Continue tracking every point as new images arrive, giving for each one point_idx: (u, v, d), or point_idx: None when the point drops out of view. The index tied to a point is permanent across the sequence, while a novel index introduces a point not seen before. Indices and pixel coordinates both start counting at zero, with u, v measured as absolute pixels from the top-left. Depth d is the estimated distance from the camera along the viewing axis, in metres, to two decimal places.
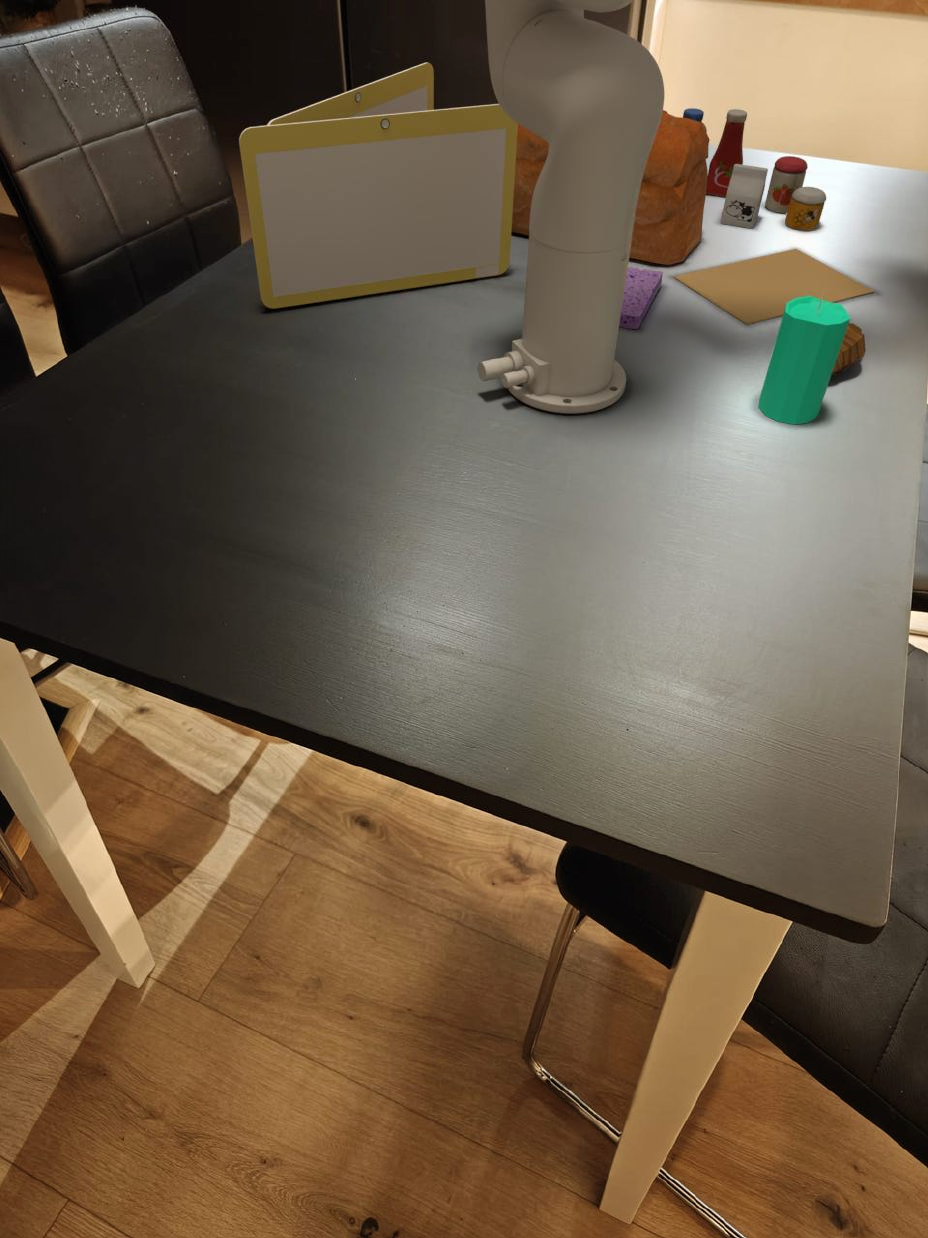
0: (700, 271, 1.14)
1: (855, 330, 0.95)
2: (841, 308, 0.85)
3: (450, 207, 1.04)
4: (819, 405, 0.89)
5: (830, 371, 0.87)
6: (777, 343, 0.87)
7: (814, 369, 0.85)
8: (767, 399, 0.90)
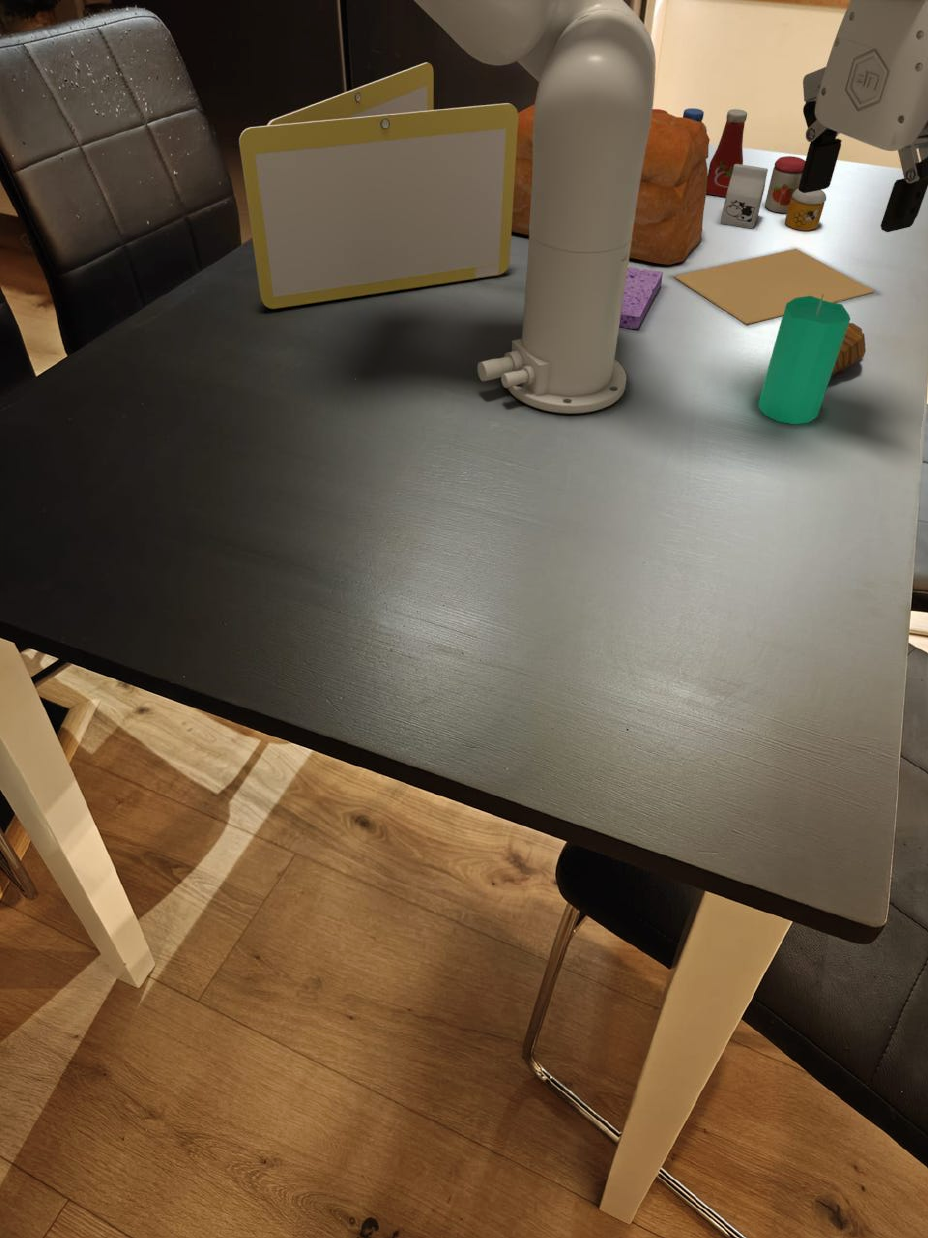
0: (700, 271, 1.14)
1: (855, 330, 0.95)
2: (841, 308, 0.85)
3: (450, 207, 1.04)
4: (819, 405, 0.89)
5: (830, 371, 0.87)
6: (777, 343, 0.87)
7: (814, 369, 0.85)
8: (767, 399, 0.90)
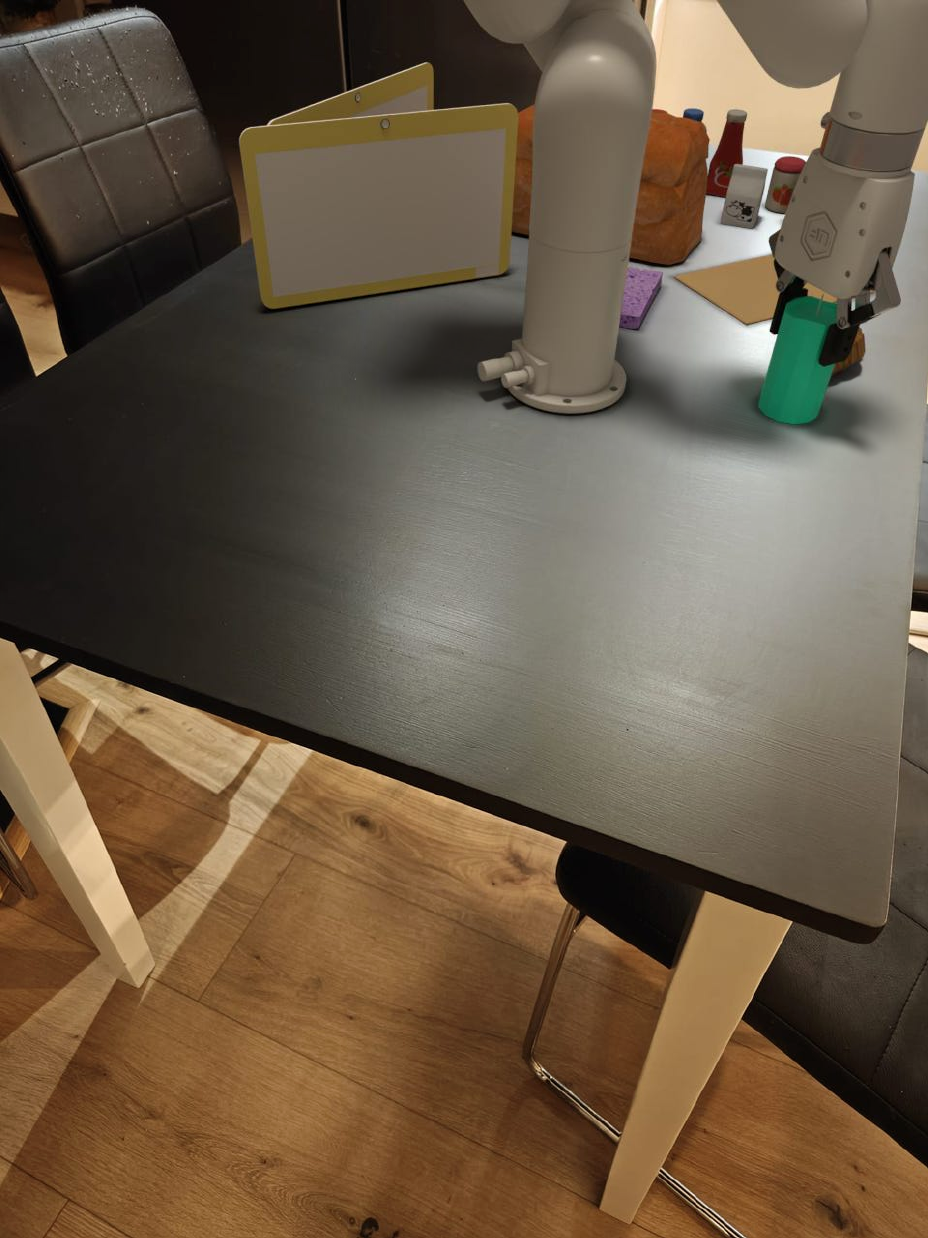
0: (700, 271, 1.14)
1: None
2: None
3: (450, 207, 1.04)
4: (819, 405, 0.89)
5: (830, 371, 0.87)
6: (777, 343, 0.87)
7: (814, 369, 0.85)
8: (767, 399, 0.90)
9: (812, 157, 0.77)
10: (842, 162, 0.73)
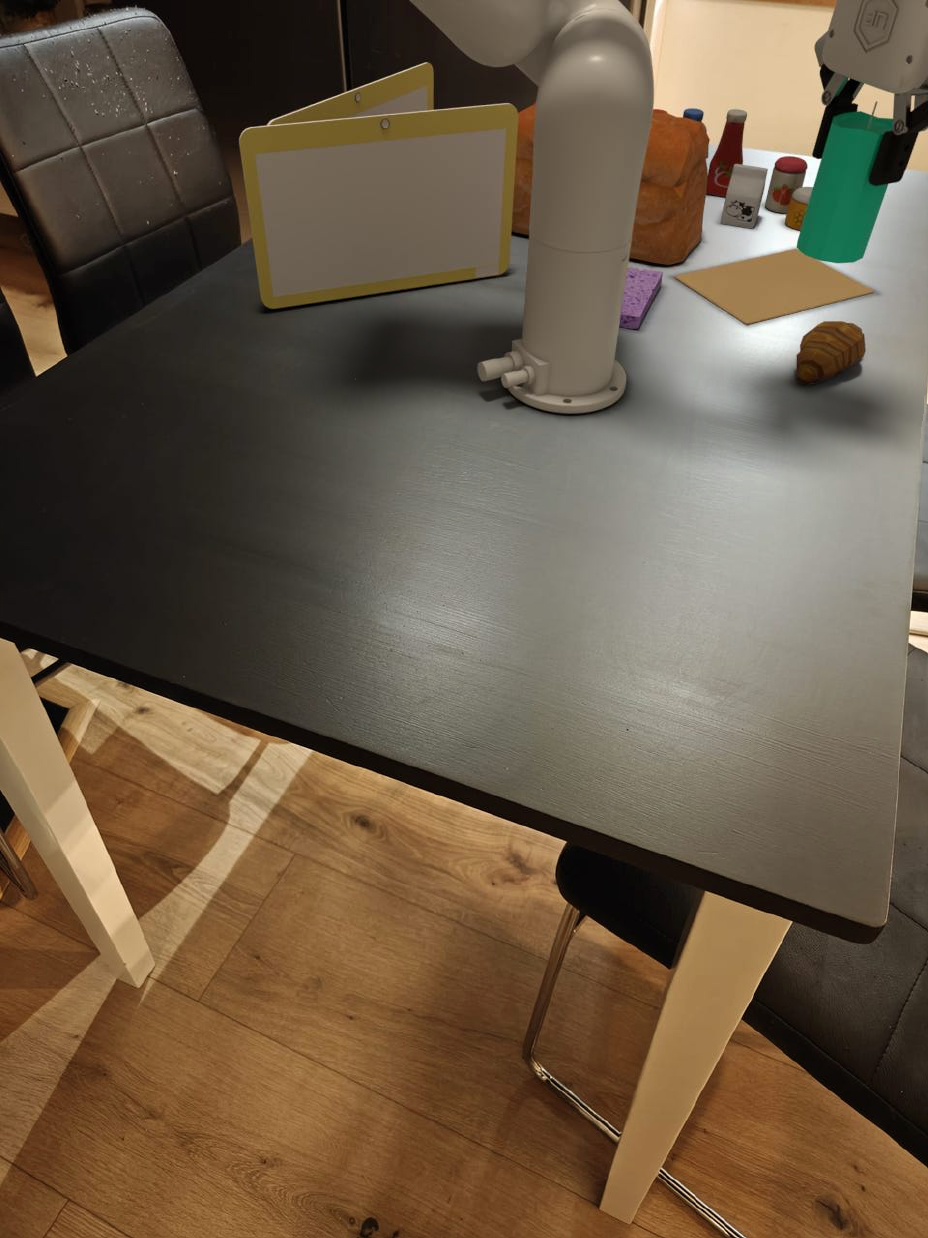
0: (700, 271, 1.14)
1: (855, 330, 0.95)
2: None
3: (450, 207, 1.04)
4: (866, 242, 0.79)
5: (881, 198, 0.77)
6: (821, 164, 0.76)
7: (863, 192, 0.75)
8: (807, 234, 0.80)
9: None
10: None
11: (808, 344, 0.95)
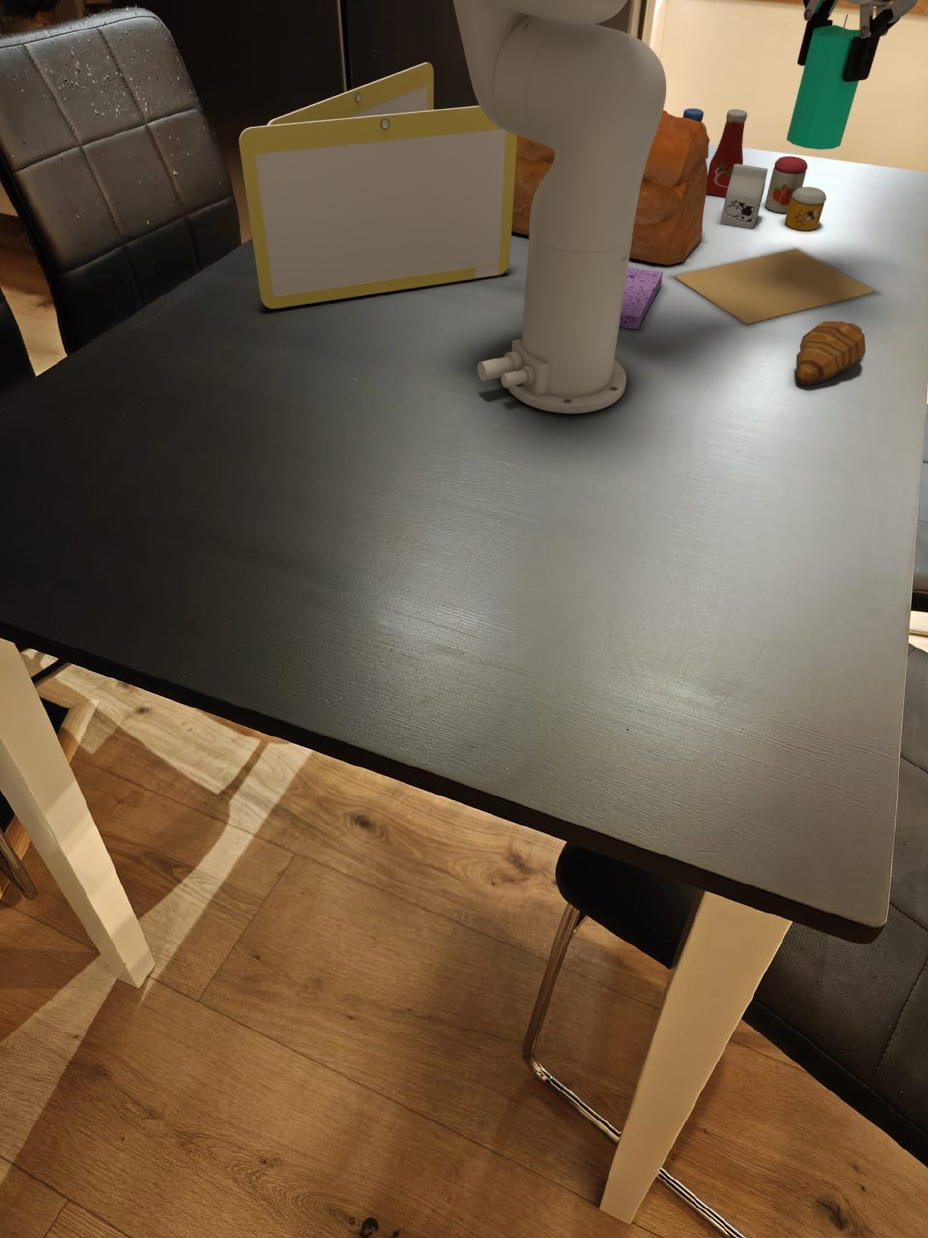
0: (700, 271, 1.14)
1: (855, 330, 0.95)
2: None
3: (450, 207, 1.04)
4: (842, 131, 0.99)
5: (853, 93, 0.96)
6: (805, 68, 0.96)
7: (839, 88, 0.95)
8: (795, 127, 0.99)
9: None
10: None
11: (808, 344, 0.95)
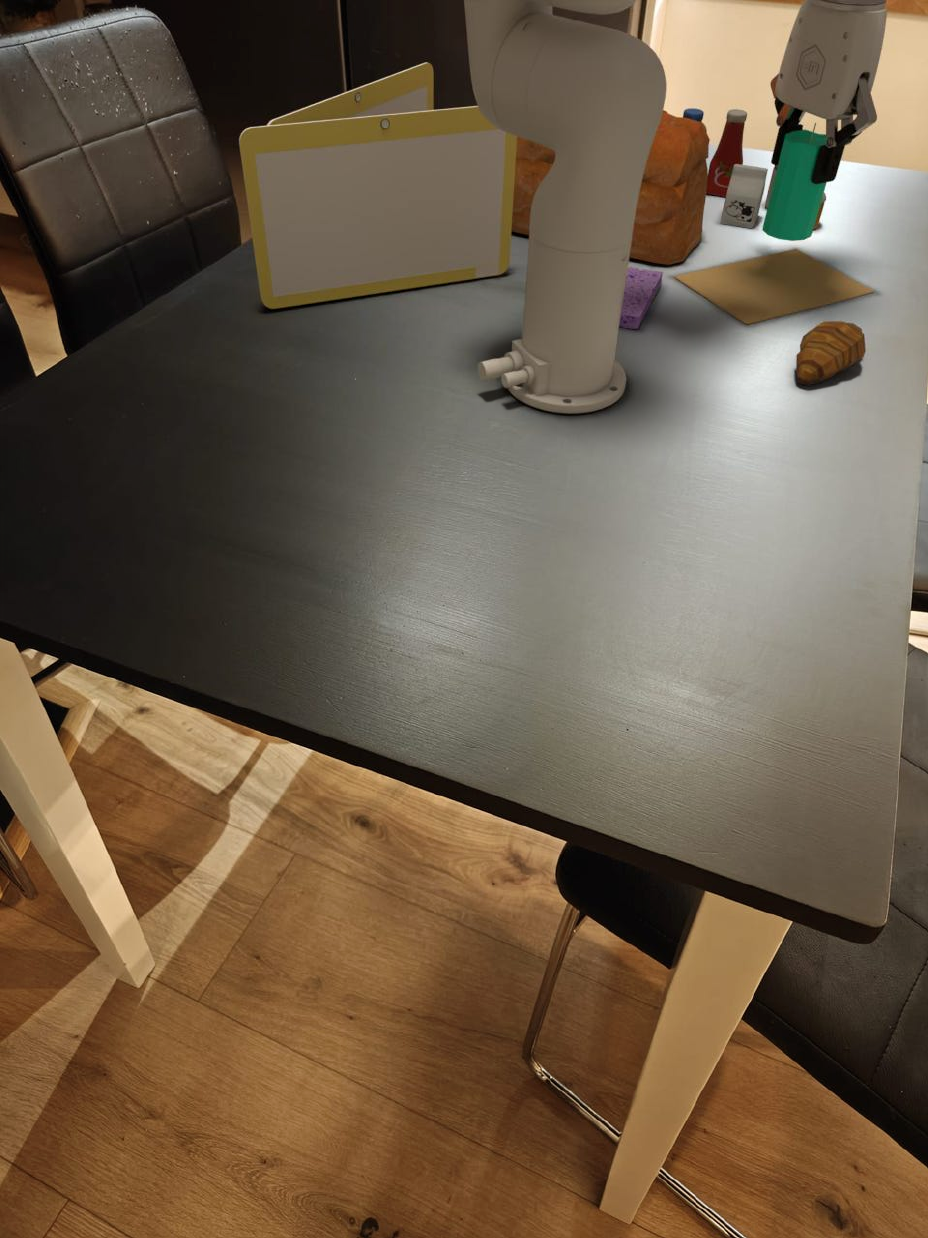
0: (700, 271, 1.14)
1: (855, 330, 0.95)
2: None
3: (450, 207, 1.04)
4: (813, 224, 1.08)
5: (822, 192, 1.05)
6: (778, 168, 1.05)
7: (808, 188, 1.04)
8: (770, 220, 1.08)
9: (805, 1, 0.95)
10: None
11: (808, 344, 0.95)
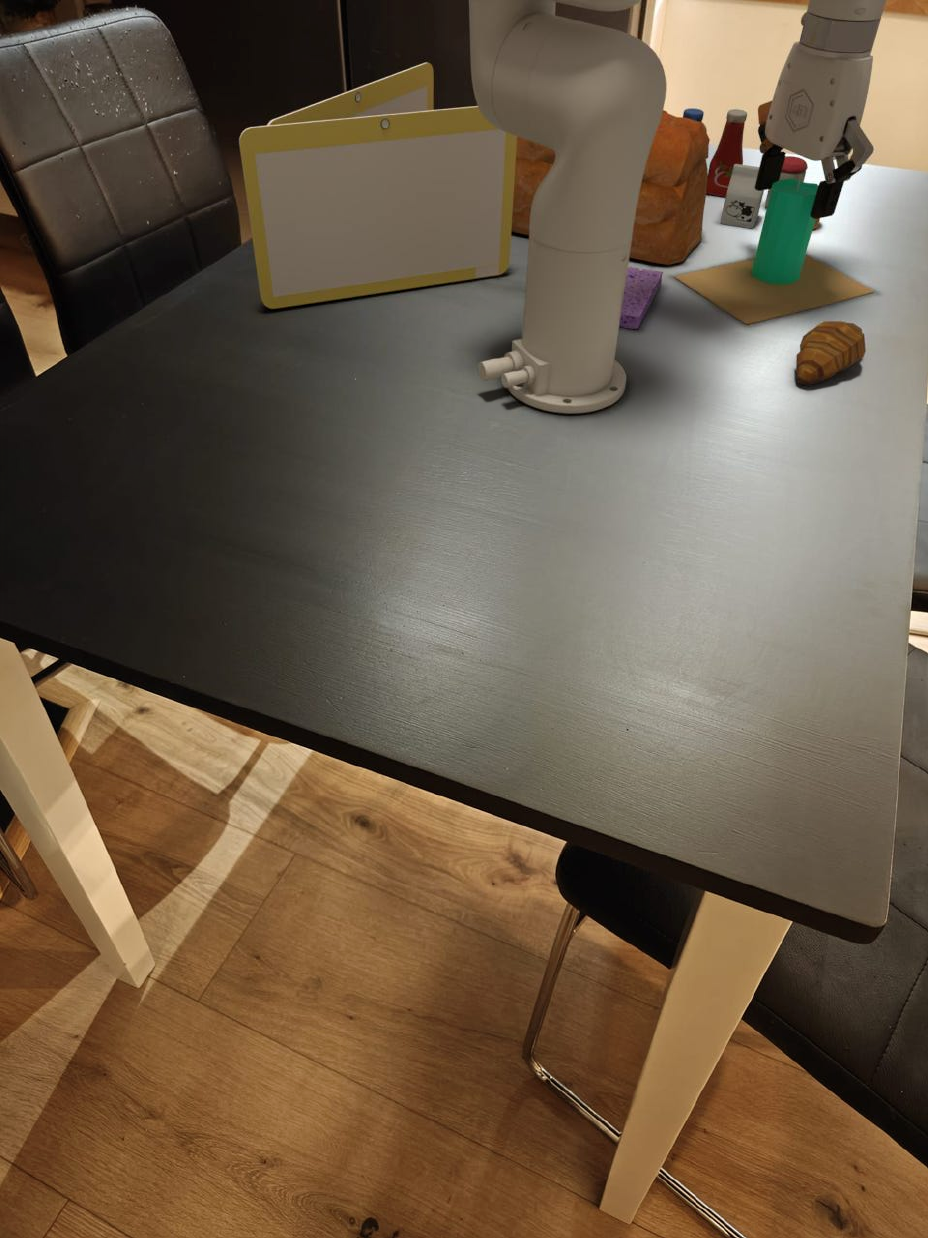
0: (700, 271, 1.14)
1: (855, 330, 0.95)
2: (816, 186, 1.07)
3: (450, 207, 1.04)
4: (800, 269, 1.12)
5: (808, 238, 1.09)
6: (766, 216, 1.09)
7: (795, 235, 1.08)
8: (758, 264, 1.12)
9: (794, 47, 0.98)
10: (817, 46, 0.94)
11: (808, 344, 0.95)
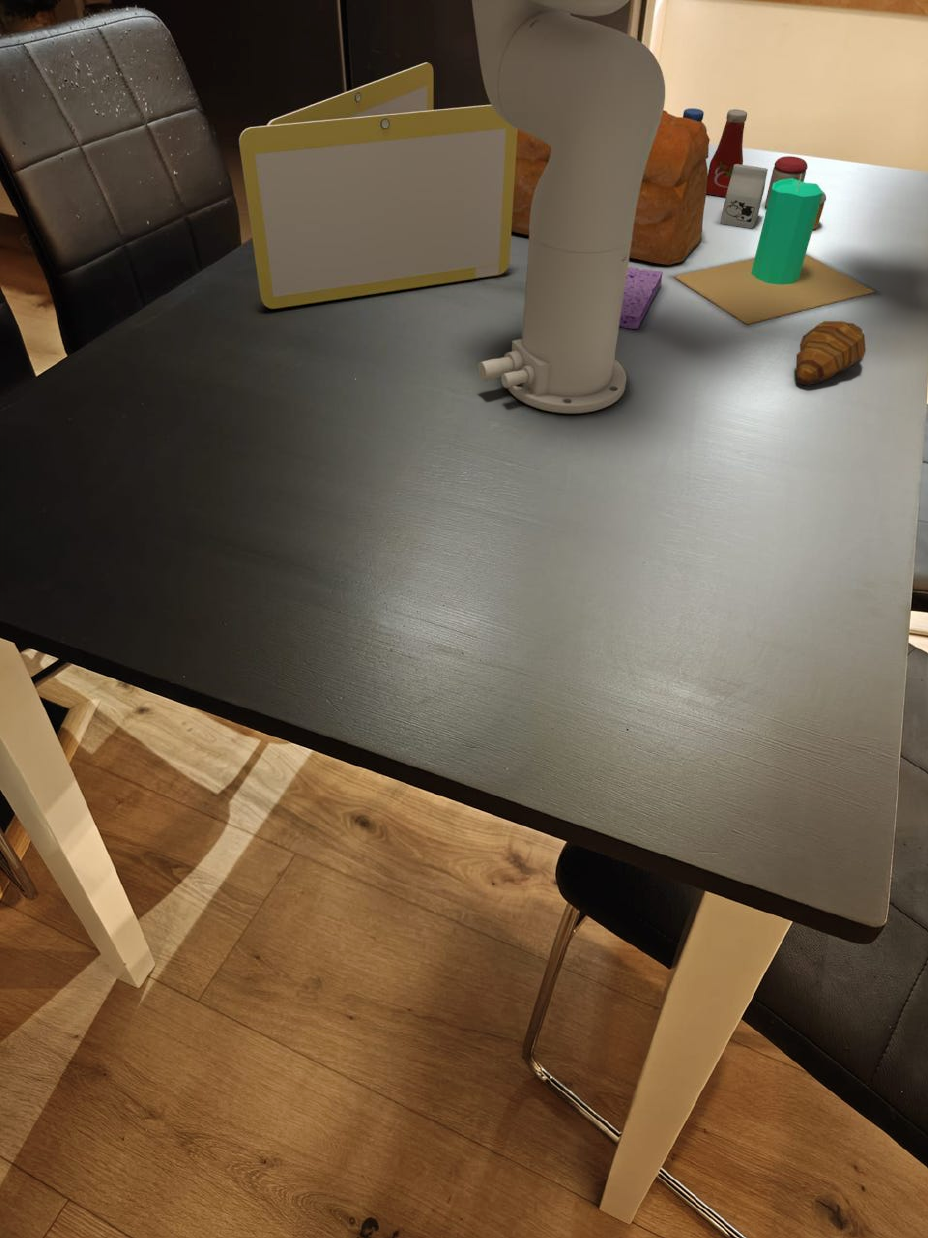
0: (700, 271, 1.14)
1: (855, 330, 0.95)
2: (816, 186, 1.07)
3: (450, 207, 1.04)
4: (800, 269, 1.12)
5: (808, 238, 1.09)
6: (766, 216, 1.09)
7: (795, 235, 1.08)
8: (758, 264, 1.12)
9: None
10: None
11: (808, 344, 0.95)
